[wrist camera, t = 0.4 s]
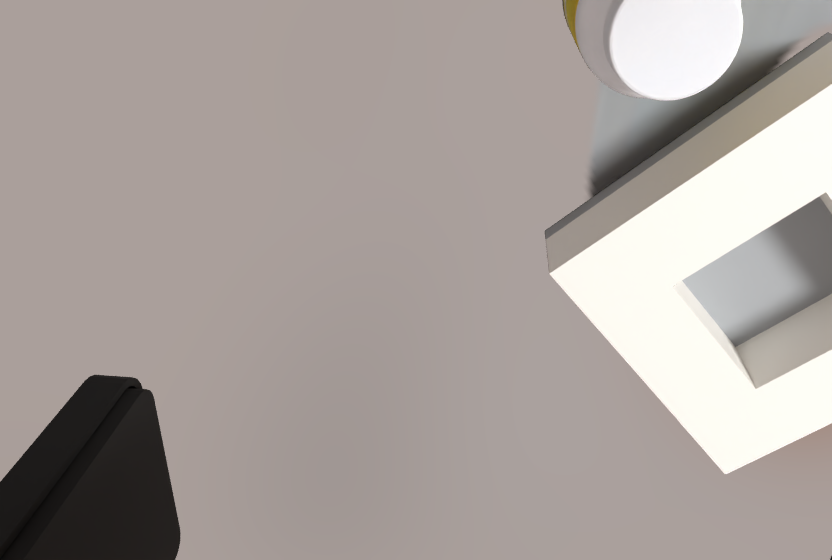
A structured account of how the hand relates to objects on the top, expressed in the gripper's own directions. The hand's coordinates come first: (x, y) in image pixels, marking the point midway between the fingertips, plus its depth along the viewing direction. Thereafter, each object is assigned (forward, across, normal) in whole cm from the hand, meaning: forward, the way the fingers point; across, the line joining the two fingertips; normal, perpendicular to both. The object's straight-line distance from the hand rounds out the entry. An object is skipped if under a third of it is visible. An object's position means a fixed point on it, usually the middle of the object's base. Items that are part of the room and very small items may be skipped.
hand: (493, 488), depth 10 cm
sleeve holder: (+26, -13, +8) cm, 30 cm away
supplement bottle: (+26, -5, -3) cm, 27 cm away
